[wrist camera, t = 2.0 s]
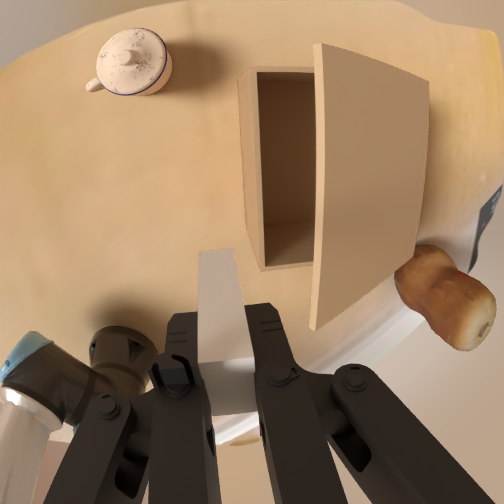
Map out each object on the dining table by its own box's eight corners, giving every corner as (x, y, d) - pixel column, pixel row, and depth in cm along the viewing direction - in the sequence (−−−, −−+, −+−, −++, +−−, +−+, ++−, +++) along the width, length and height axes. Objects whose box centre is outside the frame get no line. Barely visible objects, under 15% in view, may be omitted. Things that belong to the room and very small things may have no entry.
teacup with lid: (163, 32, 34) (150, 9, 24) (182, 82, 38) (174, 73, 28) (91, 67, 35) (58, 57, 24) (110, 116, 39) (81, 119, 28)
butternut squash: (441, 247, 58) (516, 309, 36) (410, 295, 63) (472, 368, 41) (404, 224, 54) (490, 292, 32) (370, 280, 59) (437, 364, 37)
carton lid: (408, 254, 40) (413, 256, 40) (309, 327, 29) (314, 331, 28) (423, 81, 29) (428, 81, 29) (312, 44, 17) (321, 43, 17)
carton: (366, 218, 53) (409, 252, 40) (246, 228, 50) (260, 271, 38) (371, 84, 42) (423, 83, 29) (237, 79, 39) (250, 66, 27)
